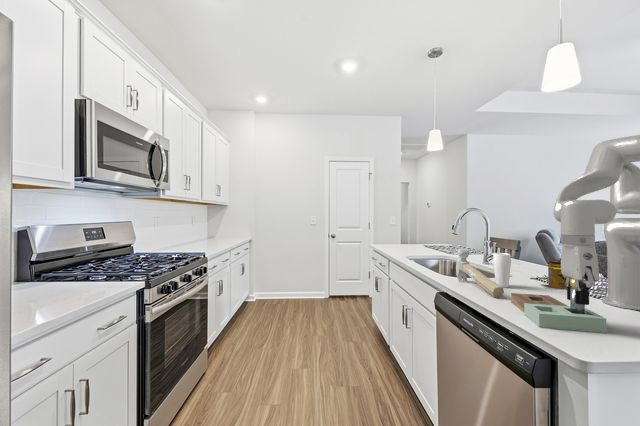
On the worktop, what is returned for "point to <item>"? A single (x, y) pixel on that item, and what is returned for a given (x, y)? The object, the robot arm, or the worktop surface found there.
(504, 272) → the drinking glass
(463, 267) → the hammer
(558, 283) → the condiment
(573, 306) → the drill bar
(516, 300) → the socket block
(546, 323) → the frame
